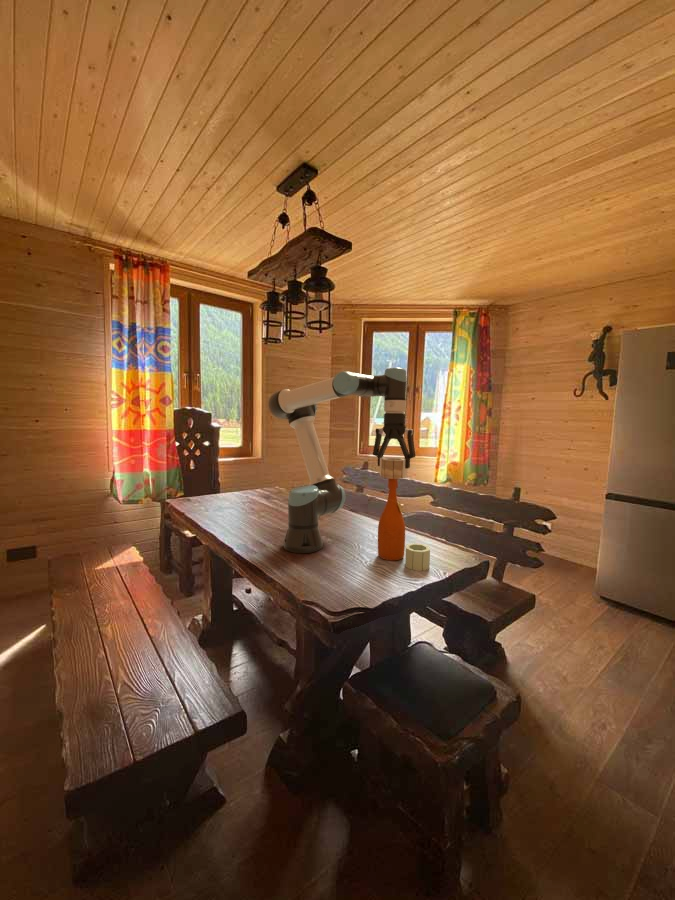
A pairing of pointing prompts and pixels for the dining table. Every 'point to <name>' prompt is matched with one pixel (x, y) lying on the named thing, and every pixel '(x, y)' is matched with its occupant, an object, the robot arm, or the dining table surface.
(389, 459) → the birch ring
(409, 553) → the sage ring
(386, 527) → the wine bottle
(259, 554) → the dining table surface
